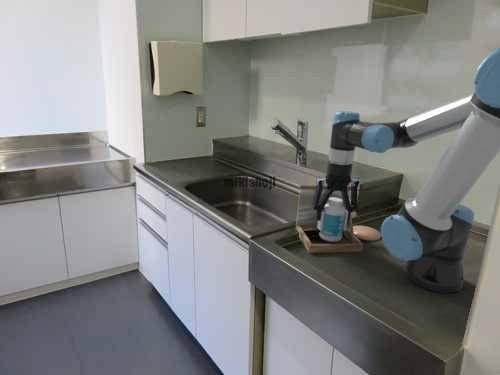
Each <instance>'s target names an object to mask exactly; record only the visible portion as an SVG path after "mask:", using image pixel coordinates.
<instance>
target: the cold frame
mask: <svg viewBox="0 0 500 375" xmlns="http://www.w3.org/2000/svg"><path fill="white" fill-rule="evenodd" d="M316 186H317V184H316V185H315V184H312V185H311V184H308V185H307V184H304V185H303V184H301V185H299V195H298V196H299V197H298V206H297V213H296V214H297V215H296V222H295V229H296V230H297V231H298V232H299V236H298V238H299V240H300V241H301V243H302V244H303V246H304V247H305V248H306V251H307V252H308V254H314V253H315V254H317V253H318V254H319V253H326V254H327V253H362V252H363V250H364V246H365V245H364V243H363V242H362V241H361V239H359V238H357V237H356V236H355V235H354V232H353V226H354V225H353V218H352V213H351V214H350V219H349V220H348V222H349V224H348V225H349V227H347V225H346V231H343V232H342V235H344V236H345V237H346V238H347V239H348V240H349V242H350V243H312V242H311V240H310V239H309V237H308V236H307V234H306V233H305V232H304V231H303V230H302V229H308V228H317V225H318V220H317V219H316V212H317V210H314V209H313V208H312V206H311V205H312V201H313V198H314V194H315V190H316ZM326 187H327V185H325V184H324V186H323V189H322V193H321V197H320V200H321V198H322V196H323V194H324V192H325V189H326ZM347 191H348V196H349V197H351V185H348V186H347ZM331 197H335V198H340V199H342V200H343V197H342V193H341V191H333V193H332V194H331V195H330V197H329V198H331ZM320 200H319V202H320ZM326 204H328V201H327V203H326ZM341 206H343V207H344V208H345V205H344V201H343V202H342V205H341ZM345 210H346V208H345ZM317 229H318V228H317ZM349 229H350V230H349Z"/></svg>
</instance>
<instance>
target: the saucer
mask: <svg viewBox="0 0 500 375" xmlns="http://www.w3.org/2000/svg"><path fill="white" fill-rule="evenodd" d="M348 229H349V230H350V228H348ZM353 232H354V235H355V236H356V237H357V238H358V239H359V240H363V241H370V242H373V241H378V240H380V239H381V238H382V236H381V231H379V230H377V229H376V228H373V227H370V226H365V225H353Z"/></svg>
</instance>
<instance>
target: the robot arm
mask: <svg viewBox="0 0 500 375" xmlns="http://www.w3.org/2000/svg"><path fill="white" fill-rule="evenodd" d="M473 84H474V89H473V90H474V91H472V92H470V93H467V94H464V95H462V96H460V97H457V98H455V99H453V100H450V101H447V102H445V103H442V104H440V105H438V106H434V107H431V109H428V110H425V111H422V112H420V113H417V114H415V115H412V116H410V117H407V118H405V119H403V120H400V121H394V122H367V121H362V120H361V119H360V113H358V112H356V111H350V110H339V111H337V110H336V112H334V115H333V121H332V125H331V136H330V145H329V152H328V160H329V161H328V162H327V168H326V175H325V177H324V178H319V177H318V178H316V180H315V182H316V183H315V184H316V185H317V186H316V190H315V194H314V198H313V201H312V205H311V206H312V208H313V209H314V210H317V212H316V219H317V220H318V225H317V228H318V229H319V230H320V231H322V228H323V220H324V211H323V209H324V207H325V205H326V203H327V201H328V199H329V197H330V195H331V194H332V193H333V191H341V193H342V197H343V201H344V205H345V208H346V210H345V211H346V212H345V219H344V226H343V231H346V226H347V225H348V224H347V223H348V221H349V219H350V214H351V215H352V213H353V212H354V210H355V211H356V210H358V191H359V190H358V188H359V186H360V181H359V180H358V179H357V178H352V176H351V175H352V171H353V162H354V158H355V150H356V148H359V149H362V150H366V151H368V152H370V153H376V154H377V153H378V154H383V153H386V152H387V151H388V150H390V149H407V148H410V147H414V146H416V145H418V144H419V143H420V142H422V141H426V140H429V139H431V138H436V137H438V136H441V135H444V134H448V133H451V132H454V131H456V130H457V131H458V130H459V131H458V132H457V134H456V135H455V137H454V138H453V140H452V142H451V143H450V145H448V147H447V149H446V151H445V152H444V153H443V156H441V159H440V160H439V161H438V163H437V164H436V166H435V168H434V169H433V170H432V172H431V174H430V175H429V177H428V179H427V180H426V182H425V183H424V185H423V186H422V187H421V189H420V190H419V192H418V193H417V195H416V196H414V197H413V196H412V197H409V198H407V199H406V200H405V201H404V203H403V204H402V206H401V208H400V210H399V211H398V213H396V214H391V215H390V216H388V217H386V218H385V219H384V220H383V221H382V224H381V226H380V233H381V238H382V244H383V245H384V247H385V249H386V250H387V251H388V252H389V254H390V255H392V256H393V257H394V258H396V259H397V260H400V261H406V263H405V267H404V273H405V276H406V278H408V279H409V280H410V281H411V282H412V283H414V284H416V285H417V286H419V287H421V288H423V289H425V290H428V291H432V292H435V293H439V292H440V294H452V293H451V292H456V291H458V292H460V291H461V290H462V289H463V286H464V280H465V279H464V269H463V258H464V254H465V251H466V247H467V244H468V241H469V237H470V233H471V232H472V231H471V230H472V227H473V225H474V219H475V212H474V211H473V209H471V208H469V207H467V206H465V205H463V204H461V203H462V201H464V199H465V197H466V196H467V195H468V193H469V192H470V190H472V188H473V187H474V185H475V184H476V183H477V181H478V180H479V179H480V177H481V176H482V174H484V173H485V171H486V169H487V168H488V167H489V165H490V164H491V162H493V160H494V159H495V158H496V156H497V155H498V154H499V152H500V46H498V47H497V48H495V49H494V50H492V51H490V53H489V54H487V56H485V57H484V58H483V59H482V61H481V62H480V64H479V65H478V67H477V69H476V71H475V73H474V78H473ZM325 183H326V186H327V187H326V189H325V192H324V194H323V196H322V198H321V200H320V197H321V193H322V189H323V186H324V185H325ZM347 186H351V190H350V196H348V191H347ZM319 200H320V202H319ZM461 288H462V289H461ZM460 289H461V290H460ZM459 290H460V291H459ZM456 293H457V292H456Z"/></svg>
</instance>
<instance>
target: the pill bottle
mask: <svg viewBox="0 0 500 375" xmlns="http://www.w3.org/2000/svg"><path fill="white" fill-rule="evenodd" d="M342 202H343V200H342V199H340V198H335V197H331V198H329V199H328V204H326V205H325V207H324V209H323V211H324V220H323V228H322V231H320V232H318V234H319V237H320V238H321V239H322V240H324V241H326V242H331V243H332V242H333V243H335V242H336V243H337V242H339V241H341V240H342V237H343V226H344V219H345V212H346V211H345V208H344V207H343V206H341V205H342Z"/></svg>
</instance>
